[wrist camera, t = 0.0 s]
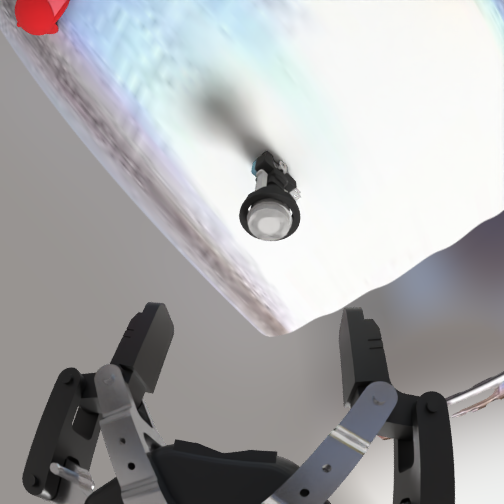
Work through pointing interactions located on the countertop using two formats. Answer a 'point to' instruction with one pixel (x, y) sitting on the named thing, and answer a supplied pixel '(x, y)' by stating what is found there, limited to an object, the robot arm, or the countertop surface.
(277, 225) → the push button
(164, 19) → the countertop surface
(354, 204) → the countertop surface
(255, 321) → the countertop surface
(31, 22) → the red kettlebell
